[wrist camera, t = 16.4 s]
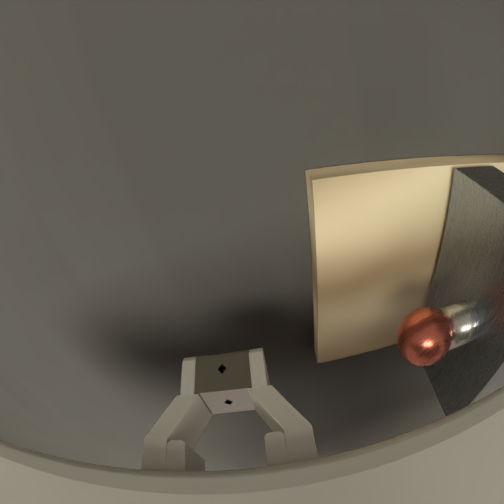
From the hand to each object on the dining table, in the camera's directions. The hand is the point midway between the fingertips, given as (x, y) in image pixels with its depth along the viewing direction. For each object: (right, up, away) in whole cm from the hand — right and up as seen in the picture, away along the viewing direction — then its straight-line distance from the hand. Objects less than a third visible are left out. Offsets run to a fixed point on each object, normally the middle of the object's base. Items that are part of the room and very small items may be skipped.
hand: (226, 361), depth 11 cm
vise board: (+13, +4, +3) cm, 14 cm away
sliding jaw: (+9, +3, +2) cm, 10 cm away
